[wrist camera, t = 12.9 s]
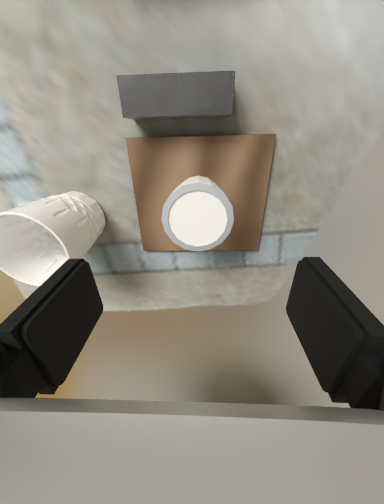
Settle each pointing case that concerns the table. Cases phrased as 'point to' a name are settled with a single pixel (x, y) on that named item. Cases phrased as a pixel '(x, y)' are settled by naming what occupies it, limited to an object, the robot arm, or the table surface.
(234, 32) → the table surface
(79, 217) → the white cup
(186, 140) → the serving board
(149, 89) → the vise
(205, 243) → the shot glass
